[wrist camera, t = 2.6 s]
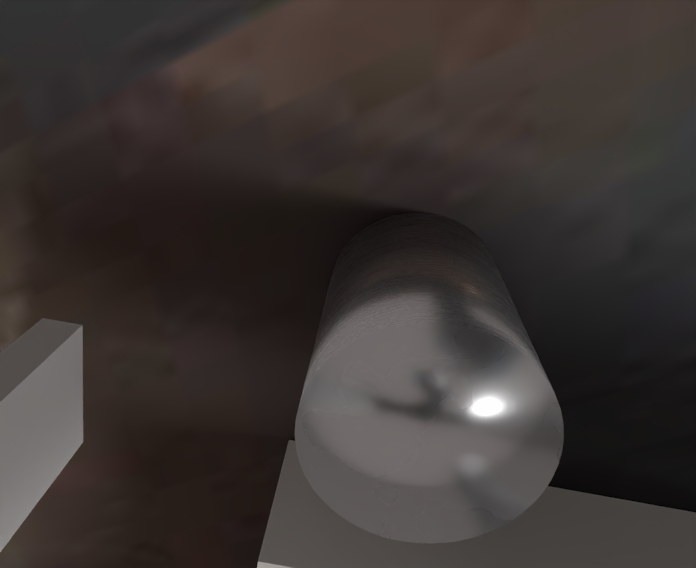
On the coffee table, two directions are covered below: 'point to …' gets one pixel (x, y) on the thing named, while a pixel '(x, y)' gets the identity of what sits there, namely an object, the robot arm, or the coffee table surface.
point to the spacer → (425, 389)
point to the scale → (488, 549)
